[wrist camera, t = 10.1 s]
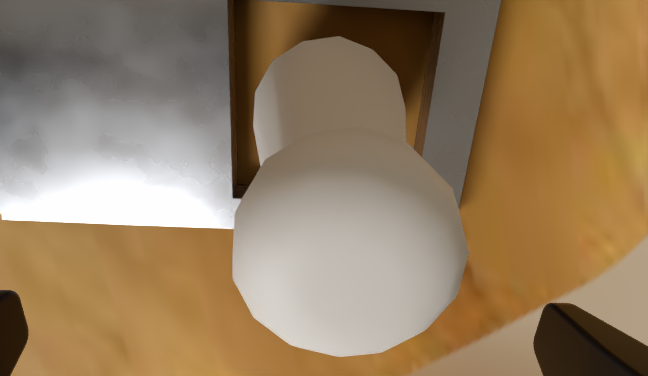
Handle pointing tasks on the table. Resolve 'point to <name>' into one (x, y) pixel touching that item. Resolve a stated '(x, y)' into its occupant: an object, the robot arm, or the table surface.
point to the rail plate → (177, 106)
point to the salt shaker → (343, 208)
